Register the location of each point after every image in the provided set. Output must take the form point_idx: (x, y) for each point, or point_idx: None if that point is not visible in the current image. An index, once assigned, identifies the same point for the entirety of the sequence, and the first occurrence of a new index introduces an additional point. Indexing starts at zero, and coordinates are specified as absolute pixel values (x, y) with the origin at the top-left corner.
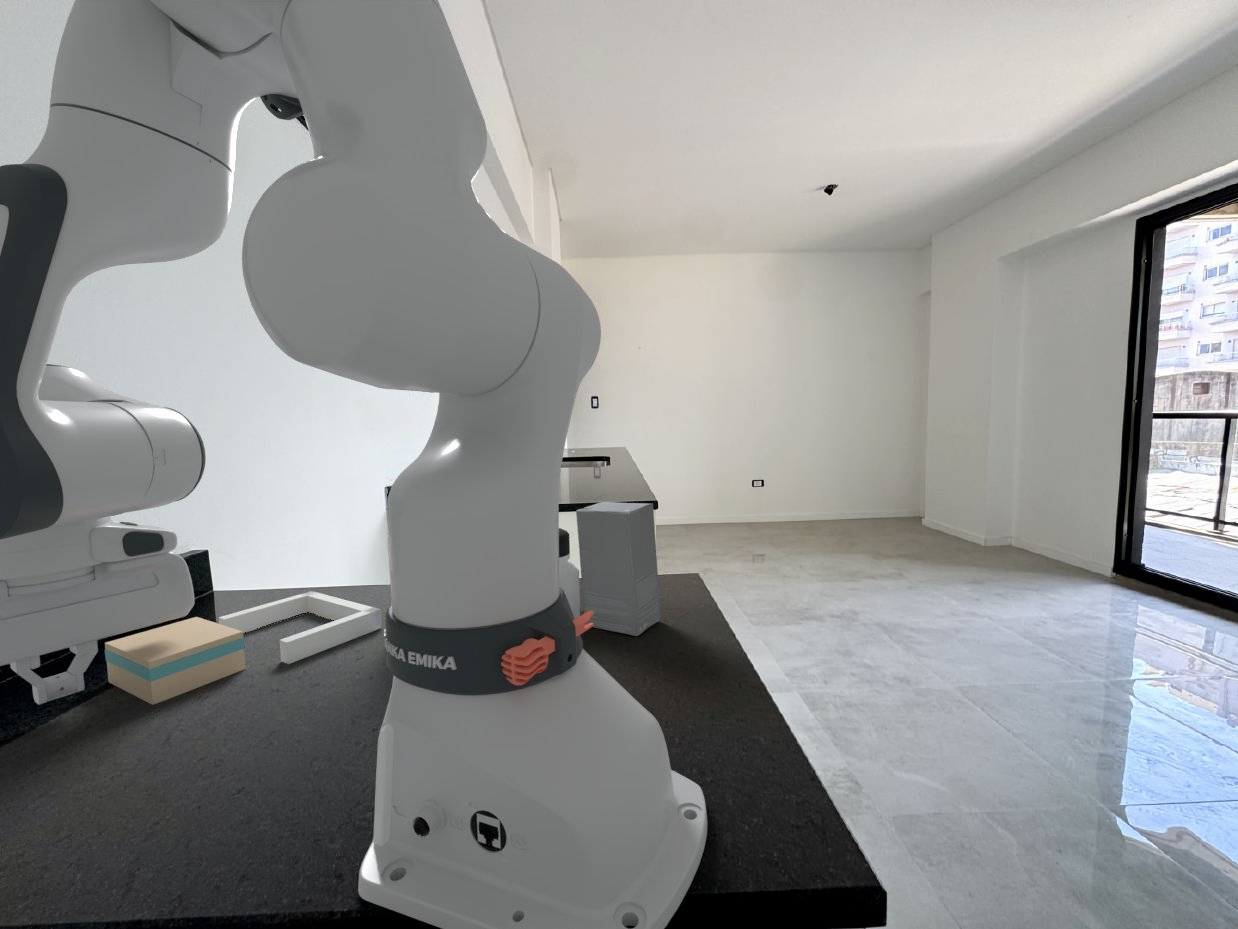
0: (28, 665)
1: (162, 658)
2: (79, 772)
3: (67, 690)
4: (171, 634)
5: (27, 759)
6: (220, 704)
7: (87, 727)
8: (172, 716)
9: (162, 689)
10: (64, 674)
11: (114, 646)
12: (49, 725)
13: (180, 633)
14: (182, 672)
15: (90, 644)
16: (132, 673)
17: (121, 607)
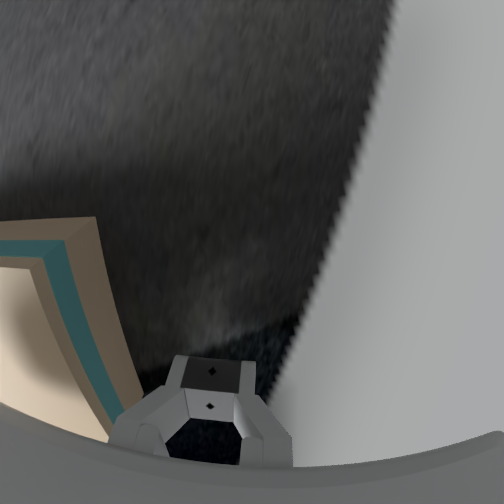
0: (266, 450)
1: (8, 265)
2: (288, 7)
3: (203, 364)
4: (20, 388)
5: (325, 186)
6: (27, 82)
7: (206, 232)
8: (86, 107)
9: (63, 228)
10: (196, 409)
11: (104, 432)
12: (247, 316)
13: (6, 376)
14: (18, 239)
15: (123, 441)
16: (92, 336)
17: (12, 488)
